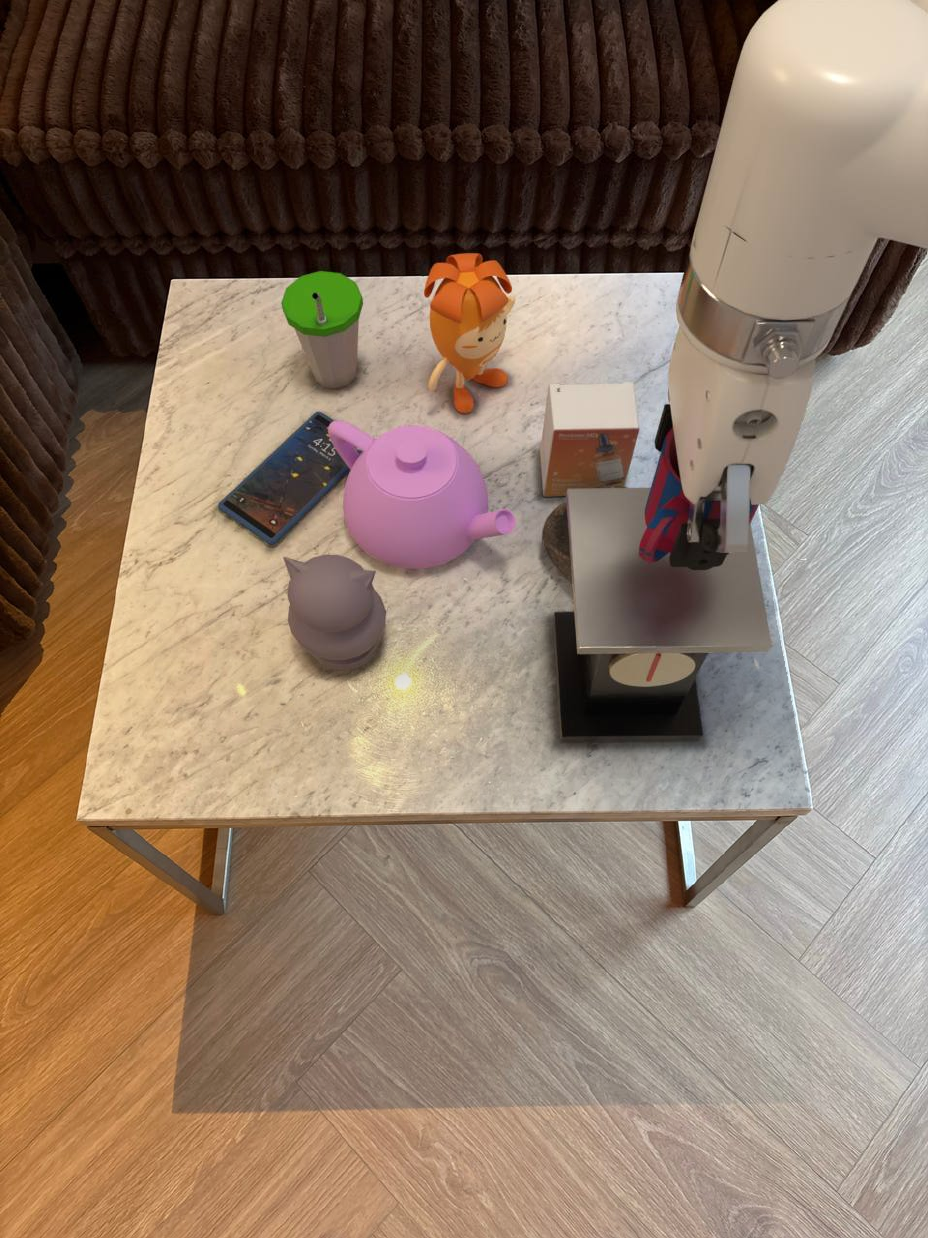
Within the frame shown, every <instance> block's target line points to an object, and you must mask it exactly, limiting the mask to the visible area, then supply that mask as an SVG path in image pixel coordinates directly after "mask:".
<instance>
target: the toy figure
mask: <svg viewBox="0 0 928 1238" xmlns="http://www.w3.org/2000/svg"><path fill="white" fill-rule="evenodd" d="M483 259H484V258H483V255H482V254H481V253H477V252H476V253H475V252H467V253H456V254H451V255H449V256H447V257H446V259H445V262H436V263H434V264H433V265H432V267H431V268H430V271H429V274H428V276H427V278H426V282H425V285H424V288H423V296H424V297H425V298H427V299H428V298H430V297H431V295H432V293H433V290H434V288H435V285H436V282H437V281H439V280H442V281H441V282H440V283H439V285H438V287H437V289H436V290H435V292H434V295H433V297H432V300H431V301H430V304H429V308H430V310H429V327H430V333H431V337H432V340H433V343H434V345H435V347H436V349H437V351H438V353H439V355H441V357H442V358H441V360H440V361H439V362H438V363H437V365H436V366H435V367H434V369H433V371H432V373H431V375H430V377H429V379H428V385H427V388H428V390H429V391H434V390H436V389H437V385H438V381H439V379H440V377H441V374H442V373H443V371H444V370H445V368H446V367H447V366H448V364H449V365H450V366H452V367H453V368H454V369H455V370H456V377H455V384H454V387H453V403H454V407H455V409H456V410H457V412H459V413H460V414H465V415H466V414H469V413H471V412H472V411H473V410H474V407H475V402H474V399H473V397H472V395H471V394H470V392H469V391H468V390H467V388H466V386H465V380H466V381H472V380H473V381H474V382H476V383H478V384H481V385H485V386H488V387H491V388H502V387H504V386H505V385H507V383H508V381H509V378H508V377H509V376H508V375H507V373H506V372H505V370H503V369H502V368H495V367H494V368H493V367H492V368H488V369H484V367H485V366H486V365H487V364H488V363H490V362H491V361H492V360H493V358H495V357H496V355H497V354H498V353H499V350H500V348H501V347H502V344H503V342H504V339H505V336H506V330H507V326H508V325H507V324H508V315H509V314H510V313H511V311H512V309H513V308H514V306H515V303H516V300H517V299H516V297H515V296H513V295H509V294H511V293H512V291H513V286H512V283H511V281H510V279H509V277H508V276H507V273H506V271H505V270H504V269H503V266H502V265H501V264H500V263H499V262H498V261H497V260H493V259H492V260H491V259H490V260H486V261H484V262H483ZM494 277H496V279H497V280H496V279H495V278H494ZM502 289H503V290H502ZM506 294H508V295H509V296H507V295H506Z"/></svg>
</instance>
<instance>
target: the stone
mask: <svg viewBox="0 0 928 1238" xmlns="http://www.w3.org/2000/svg"><path fill="white" fill-rule="evenodd" d="M593 488H628V487H627V486H624V487H623V486H616V485H606V486H598V487H593ZM541 540H542V545H543V548H544V550H545V553H546V554H547V556H548V558H549V560H550V561H551V563H552V564H553V566H554V567H555V568H556V570H557V571H558V572H559V573H560V575H561V576H562V577H563V578H564V579H565V580H566V581H567V582H568V583H570V585H572V572H571V558H570V544H569V530H568V516H567V502H566V499H565V500H563V501H562V502H560V503H559V504H558V505H557V506H556V507H555V508H554V509H553V510H552V511H551V513H549V515H548V516H547V518H546V519H545V521H544V524H543V527H542V532H541Z"/></svg>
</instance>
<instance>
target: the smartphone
mask: <svg viewBox="0 0 928 1238" xmlns="http://www.w3.org/2000/svg"><path fill="white" fill-rule="evenodd" d="M333 421H335V419H333V418H331V417H329V416H328V415H326V414H325V413H324V412H321V411H316V412H314V413H313V414H312V415H311V416H310V417H309V418H307V420H306V421H305V422H303V424H301V425H300V426H299V427H298V428H297V429H296V430H295V431H294V432H293V433H292V434H291V435H290V436H288V438H286V439H285V441H283V442H282V443H281V444H280V445H279V446H278V447H277V448H276V449H275V450H274V451H273V452H271V454H269V455H268V456H267V458H265V459H264V460H263V461H262V462H261V463H260V464H258V466H257V467H256V468H254V469H253V471H251V472H250V473H249V474H248V475H247V476H246V477H245V478H244V479H242V481H240V482H239V484H238V485H236V486H235V487H234V488H233V489H232V490H231V491H230V492H228V494H226V496H225V497H223V499H221V500H220V501H219V503H218V505H217V508H218V510H219V511H220V512H222V513H223V514H224V515H226V516H227V517H228V518H230V519H232V520H233V521H235V522H236V523H238V524H239V525H241V527H242V528H244V529H246V530H247V531H249V532H250V533H251V534H253V535H254V536H255V537H257V538H259V539H260V540H261V541H263V542H264V543H265V544H267V545H268V546H271V547H272V546H276V545H277V544H279V542H281V540H282V539H283V538H284V537H285V536H286V535H287V534H288V533H289V532H291V530H292V529H293V528H295V526H297V524H298V523H300V522H301V520H302V519H303V518H304V517H305V516H307V514H309V513H310V512H311V510H313V509H314V508H315V507H316V505H318V504H319V503H320V502H321V501H322V499H323V498H324V497H326V495H328V494H329V493H330V492H331V491H332V490H333V489H334V488H335V487H336V486H337V485H338V484H339V483H340V482H341V481H342V480H343V479H344V478H345V477H346V476H348V475H349V473H350V471H351V470H350V468H349V467H348V466H347V464H346V463H345V462H344V460H343V459H342V457H341V456H340V455H339V453H338V452H337V450H336V449H335V447H334V446H333V444H332V442H331V439H330V437H329V434H328V427H329V425H330V423H332V422H333ZM353 446H354V445H353ZM354 447H355V446H354ZM355 449H356V451H357V452H358V454H359V455H361V453H362V452H363V451H361V450H360V449H358V448H357V447H355Z"/></svg>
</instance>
